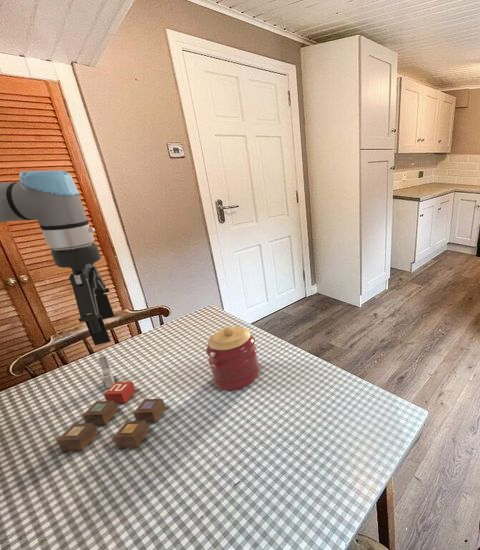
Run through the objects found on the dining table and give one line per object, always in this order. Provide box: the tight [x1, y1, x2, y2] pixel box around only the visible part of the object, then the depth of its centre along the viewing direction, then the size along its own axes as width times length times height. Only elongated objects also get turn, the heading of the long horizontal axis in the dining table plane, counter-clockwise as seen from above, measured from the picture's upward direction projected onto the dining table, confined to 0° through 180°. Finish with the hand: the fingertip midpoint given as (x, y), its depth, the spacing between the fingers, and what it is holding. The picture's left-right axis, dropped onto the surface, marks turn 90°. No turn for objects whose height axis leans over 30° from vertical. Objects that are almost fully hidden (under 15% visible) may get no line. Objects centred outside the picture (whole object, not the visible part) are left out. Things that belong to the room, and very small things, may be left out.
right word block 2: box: [133, 398, 166, 424], centre depth 77 cm, size 4×4×4 cm
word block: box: [56, 422, 99, 452], centre depth 70 cm, size 4×4×4 cm
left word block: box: [81, 400, 119, 426], centre depth 77 cm, size 4×4×4 cm
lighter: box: [97, 355, 115, 390], centre depth 88 cm, size 7×2×8 cm, turn 41°
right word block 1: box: [112, 420, 150, 449], centre depth 71 cm, size 4×4×4 cm
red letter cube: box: [103, 381, 136, 405], centre depth 83 cm, size 4×4×4 cm
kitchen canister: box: [205, 325, 260, 392], centre depth 89 cm, size 13×13×18 cm
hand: (105, 329), depth 74 cm, fingers open, 13 cm apart
